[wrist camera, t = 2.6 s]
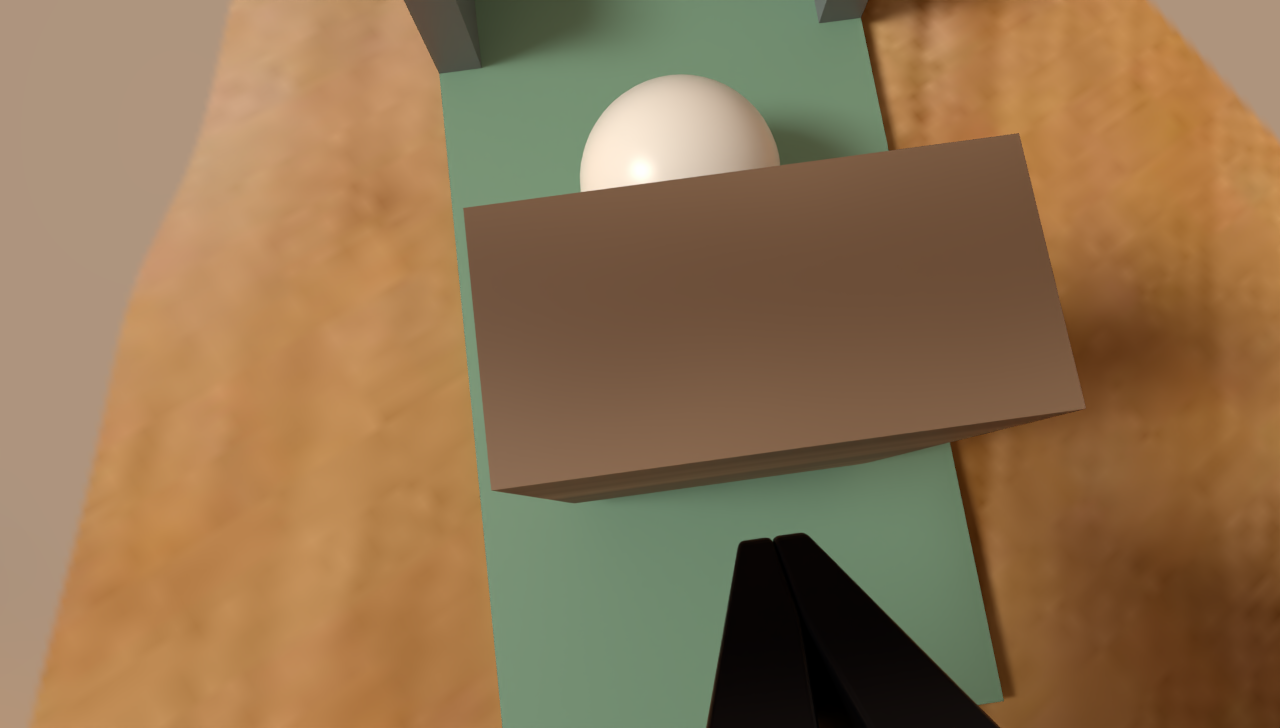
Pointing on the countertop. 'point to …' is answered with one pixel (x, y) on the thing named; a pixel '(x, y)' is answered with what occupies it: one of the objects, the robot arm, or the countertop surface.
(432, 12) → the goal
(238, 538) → the countertop surface
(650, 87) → the ball
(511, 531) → the strip
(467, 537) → the countertop surface
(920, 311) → the upright walnut wood block
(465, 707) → the countertop surface
